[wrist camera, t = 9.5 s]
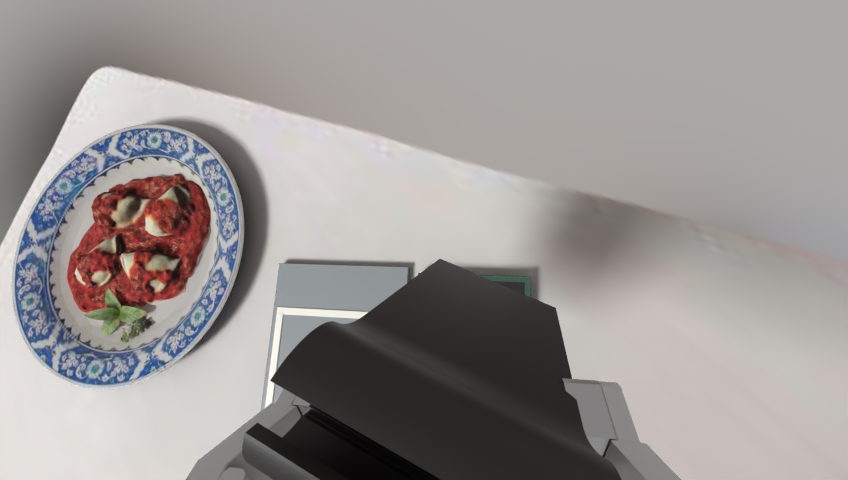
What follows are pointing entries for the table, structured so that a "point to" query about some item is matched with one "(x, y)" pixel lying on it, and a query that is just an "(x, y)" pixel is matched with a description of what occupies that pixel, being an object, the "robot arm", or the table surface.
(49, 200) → the ceramic plate
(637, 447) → the robot arm
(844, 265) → the table surface
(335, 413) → the phone stand
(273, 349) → the marked board
